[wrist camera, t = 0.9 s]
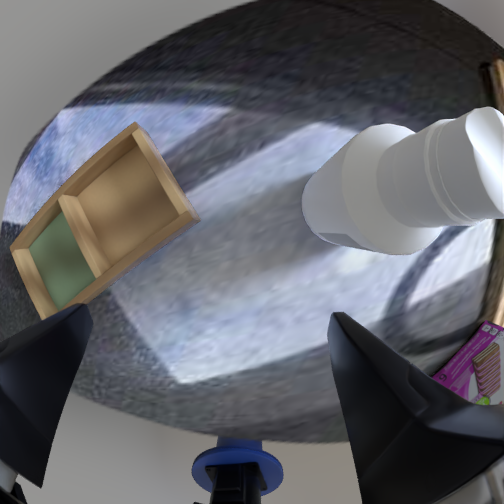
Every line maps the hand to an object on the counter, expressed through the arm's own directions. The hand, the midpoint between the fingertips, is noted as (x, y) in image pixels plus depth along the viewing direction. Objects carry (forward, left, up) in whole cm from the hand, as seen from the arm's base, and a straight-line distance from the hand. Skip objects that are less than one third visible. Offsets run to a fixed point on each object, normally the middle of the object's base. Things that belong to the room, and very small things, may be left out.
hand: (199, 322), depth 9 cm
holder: (+6, +13, -14) cm, 20 cm away
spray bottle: (+3, -10, -15) cm, 18 cm away
